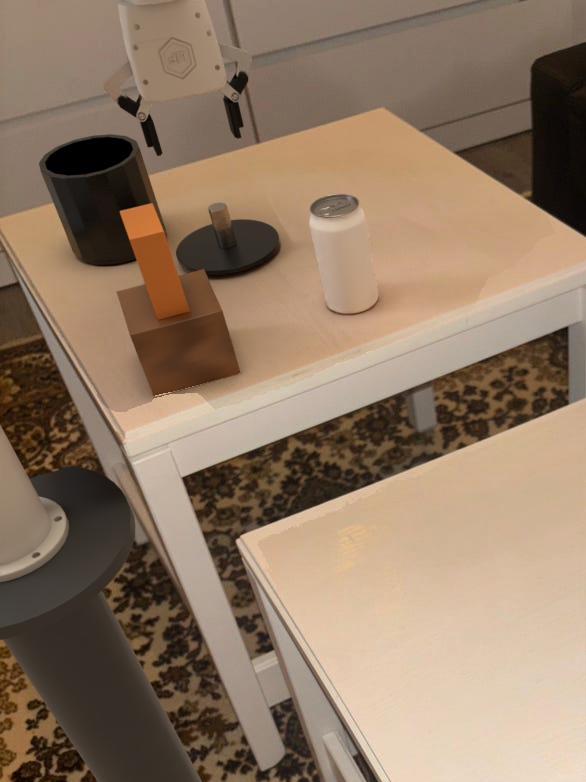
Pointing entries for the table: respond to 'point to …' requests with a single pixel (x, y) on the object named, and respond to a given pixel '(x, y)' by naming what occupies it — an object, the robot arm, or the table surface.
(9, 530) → the robot arm
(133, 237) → the block
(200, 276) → the riser
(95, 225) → the trash tin
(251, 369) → the table surface
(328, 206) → the can
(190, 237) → the tin lid
